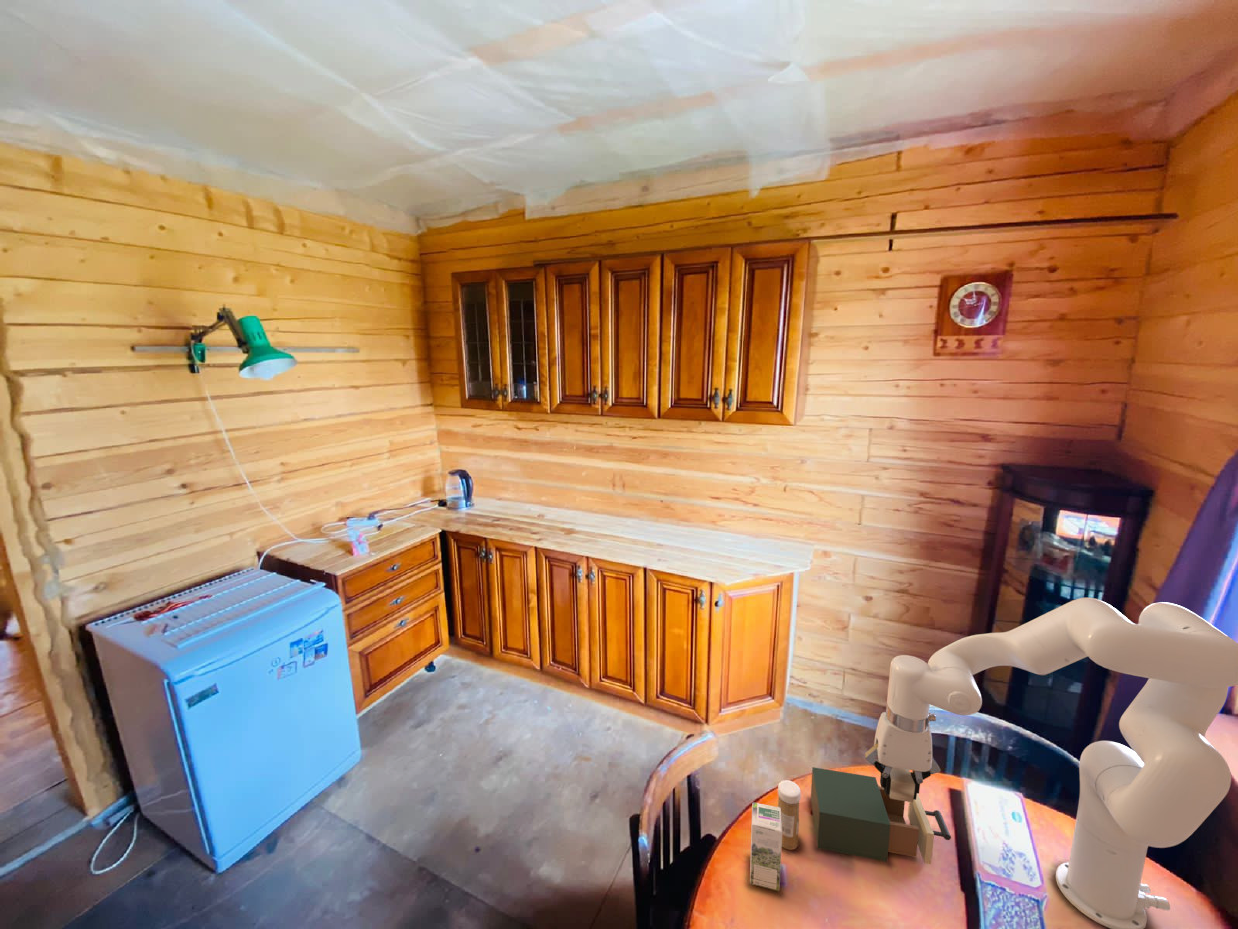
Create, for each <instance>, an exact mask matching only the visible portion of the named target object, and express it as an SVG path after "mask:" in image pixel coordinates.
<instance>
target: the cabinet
mask: <svg viewBox="0 0 1238 929" xmlns="http://www.w3.org/2000/svg"><path fill="white" fill-rule="evenodd" d="M810 786H811V787H810V789H811V790H810V805H811V806H810V807H811V813H812V820H813V826H814V833H815V834H814V835H815V840H816V847H817V849H820V850H825V851H830V852H835V853H840V854H845V855H849V856H855V857H860V858H865V859H870V860H875V861H879V862H885V863H888V857H889V852H888V847H889V835H890V822H889V819H888V816H887V812H886V809H885V806H884V803H883V800H882V796H881V793H880V790H879V787H878V786H879V784H878V781H877V777H875V776H869V775H863V774H857V773H852V772H851V773H850V772H845V771H839V770H833V769H826V768H822V767H821V768H820V767H814V766H812V767H811V784H810Z"/></svg>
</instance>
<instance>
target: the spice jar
mask: <svg viewBox="0 0 1238 929" xmlns="http://www.w3.org/2000/svg"><path fill="white" fill-rule="evenodd" d="M801 792H802V791H801V788H800V786H799V785H798V784H797V783H796V782H795V781H792V780H788V779H784V780H781V781H780V782H779V783H778V785H777V795H778V801H777V807H779V808H781V821H782V849H783V848H784V849H786V850H795V849H797V848H798V845H799V826H800V801H801Z"/></svg>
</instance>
